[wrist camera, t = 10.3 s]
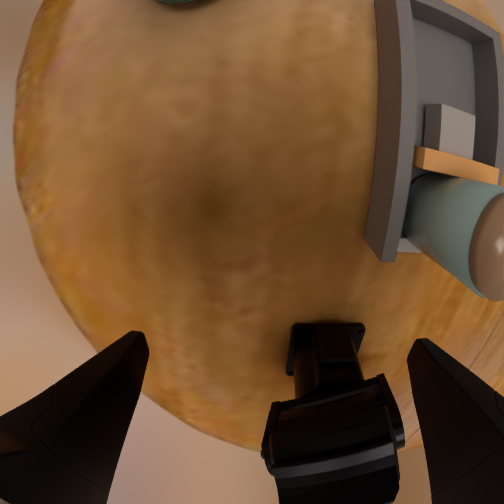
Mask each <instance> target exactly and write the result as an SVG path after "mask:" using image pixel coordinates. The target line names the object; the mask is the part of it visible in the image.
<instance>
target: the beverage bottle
mask: <svg viewBox="0 0 504 504" xmlns="http://www.w3.org/2000/svg"><path fill="white" fill-rule="evenodd" d="M152 1H153V0H152ZM156 1H160V3H163V2H164V3H172V4H175V3H186V2H191V1H194V0H156ZM156 1H155V2H156Z"/></svg>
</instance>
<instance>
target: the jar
mask: <svg viewBox="0 0 504 504" xmlns="http://www.w3.org/2000/svg"><path fill="white" fill-rule="evenodd" d="M403 230H404V232H405V235H406V237H407V239H408V240H409V242H410V243H411V244H412V245H413V246H414V247H416V248H417V249H418V250H420V251H421V252H423V253H424V254H425V255H427V256H428V257H429V258H431V259H432V260H433V261H435V262H436V263H438V264H439V265H440V266H441V267H443V268H444V269H445V270H447V271H448V272H449V273H451V274H452V275H453V276H454V277H456V278H457V279H458V280H459V281H461V282H462V283H463V284H464V285H466V286H467V287H468V288H469V289H471V290H472V291H473V292H474V293H475V294H477V295H478V296H480V297H484V298H488V299H489V300H492V301H501V300H504V187H502V186H498V185H494V184H490V183H485V182H481V181H476V180H472V179H467V178H462V177H456V176H451V175H445V174H440V173H429V174H425V175H423V176H421V177H420V178H418V179H417V180H416V181H415V182H414V183H413V184H412V185H411V187H410V188H409V193H408V199H407V205H406V211H405V216H404V222H403Z"/></svg>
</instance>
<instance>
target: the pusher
mask: <svg viewBox="0 0 504 504" xmlns="http://www.w3.org/2000/svg"><path fill="white" fill-rule="evenodd" d="M474 135H475V116H474V115H471V114H469V113H466V112H464V111H461V110H458V109H456V108H453V107H450V106H447V105H444V104H426V116H425V133H424V146H423V147H421V146H417V145H414V154H413V163H412V165H414V166H417V167H419V168H422V169H426V170H431V171H436V172H440V173H445V174H449V175H454V176H458V177H462V178H467V179H472V180H476V181H481V182H485V183H490V184H494V185H497V183H498V176H499V169H497V168H495V167H492V166H489V165H486V164H483V163H480V162H477V161H474V160H472V157H473V148H474Z"/></svg>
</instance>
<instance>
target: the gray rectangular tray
mask: <svg viewBox="0 0 504 504" xmlns="http://www.w3.org/2000/svg"><path fill="white" fill-rule="evenodd" d="M374 5H375V15H376V27H377V43H378V120H377V137H376V150H375V161H374V171H373V180H372V189H371V196H370V204H369V211H368V217H367V224H366V230H365V236H364V239H365V241H366V242H367V243H368V245H369V246H370V248H371V249H372V250H373V252H374V253H375V255H376V256H377V257H378V259H379V260H380V262H395V258H396V254H397V252H414V253H423V252H421V251H420V250H418V249H417V248H416V247H414V246H413V245H412V244H411V243H410V242H409V240H408V239H407V237H406V235H405V232H404V230H403V222H404V216H405V211H406V205H407V199H408V193H409V188H410V187H411V185H412V184H413V183H414V182H415V181H416V180H417V179H418V178H420V177H421V176H423V175H425V174H429V173H440V172H436V171H431V170H426V169H422V168H419V167H417V166H414V165H412V163H413V154H414V145H417V146H421V147H423V146H424V133H425V116H426V104H444V105H447V106H450V107H453V108H456V109H458V110H461V111H464V112H466V113H469V114H471V115H474V116H475V135H474V148H473V157H472V160H474V161H477V162H480V163H483V164H486V165H489V166H492V167H495V168H497V169H499V176H498V183H497V185H498V186H501V179H502V172H503V165H504V57H503V49H502V43H501V37H500V33H498V32H497V31H495V30H494V29H492V28H491V27H489V26H488V25H486V24H484V23H483V22H481V21H479V20H478V19H476V18H474V17H473V16H471V15H469V14H467V13H465V12H464V11H462V10H460V9H458V8H456V7H454V6H452V5H450V4H448V3H446V2H444V1H442V0H374ZM440 174H445V173H440ZM445 175H449V174H445ZM451 176H454V175H451ZM456 177H458V176H456Z"/></svg>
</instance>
